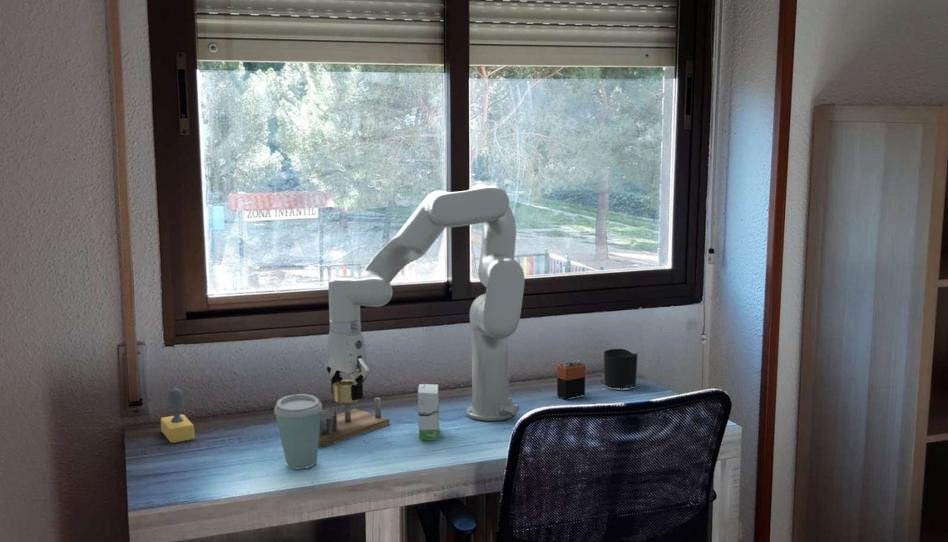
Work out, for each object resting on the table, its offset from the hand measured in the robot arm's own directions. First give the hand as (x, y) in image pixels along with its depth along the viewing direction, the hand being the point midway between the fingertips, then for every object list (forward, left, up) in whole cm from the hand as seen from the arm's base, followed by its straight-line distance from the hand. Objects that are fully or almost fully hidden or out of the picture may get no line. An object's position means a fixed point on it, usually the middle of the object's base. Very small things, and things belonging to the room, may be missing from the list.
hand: (347, 395), depth 234 cm
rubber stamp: (+27, +31, -8) cm, 42 cm away
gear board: (0, +3, -8) cm, 9 cm away
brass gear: (0, 0, -1) cm, 1 cm away
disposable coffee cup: (-12, +24, -8) cm, 28 cm away
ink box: (-20, -9, -8) cm, 23 cm away
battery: (-28, -57, -8) cm, 64 cm away
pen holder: (-33, -74, -8) cm, 81 cm away
